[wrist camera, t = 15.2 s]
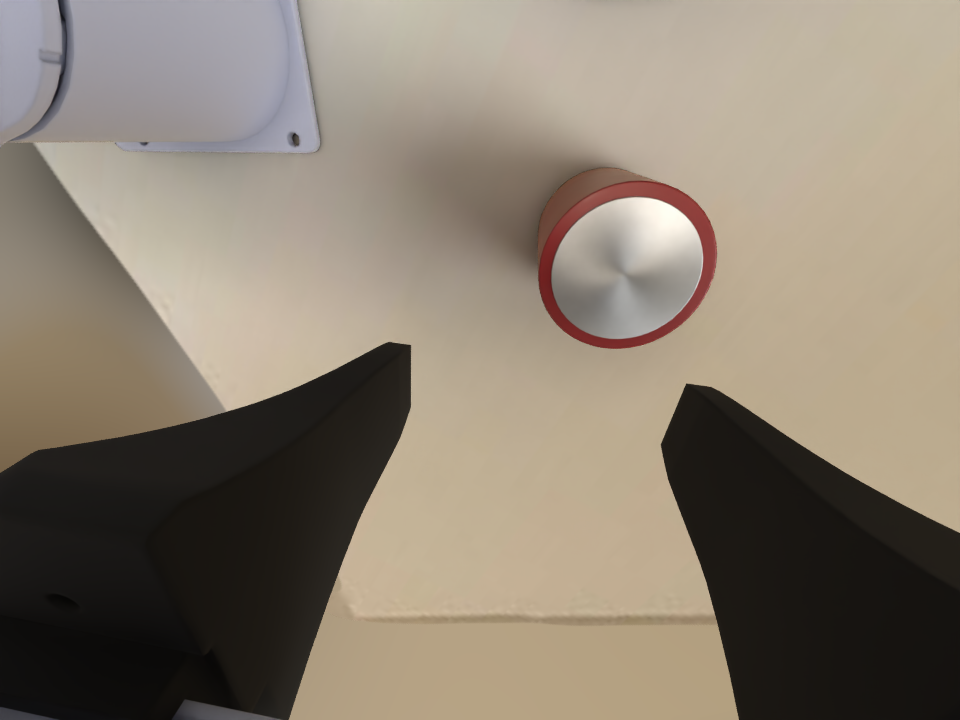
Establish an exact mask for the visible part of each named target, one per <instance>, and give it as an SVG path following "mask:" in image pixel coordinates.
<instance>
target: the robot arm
mask: <svg viewBox="0 0 960 720" xmlns="http://www.w3.org/2000/svg"><path fill="white" fill-rule="evenodd" d="M294 133H296V134H297V135H298V137H299V145H298V146H296V145H295V144H294V142H293V140H292V137H293V134H294ZM6 142H115V144H116V145H117V146H118V147H119V148H121V149H122V150H124V151H151V152H246V153H313V152H316V151H317V150H318V149H319V147H320V136H319V130H318V124H317V118H316V112H315V106H314V100H313V94H312V88H311V82H310V76H309V70H308V64H307V58H306V52H305V46H304V40H303V35H302V29H301V23H300V17H299V11H298V5H297V0H0V147H1V146H2V145H3V144H4V143H6ZM147 142H148V143H147ZM410 408H411V345H407V344H399V343H392V342H388V343H385V344H383V345H381V346H379V347H377V348H375V349H373V350H371V351H369V352H367V353H365V354H364V355H362V356H360V357H358V358H356V359H354V360H352V361H350V362H348V363H347V364H345V365H343V366H341V367H339V368H337V369H335V370H333V371H331V372H329V373H327V374H325V375H322V376H320V377H318V378H316V379H314V380H312V381H310V382H307V383H305V384H303V385H301V386H299V387H296V388H294V389H292V390H289V391H287V392H284V393H282V394H279V395H276V396H274V397H271V398H268V399H265V400H263V401H260V402H257V403H254V404H251V405H248V406H245V407H241V408H238V409H235V410H231V411H228V412H225V413H221V414H218V415H214V416H211V417H208V418H204V419H200V420H196V421H192V422H188V423H184V424H180V425H176V426H172V427H167V428H163V429H158V430H153V431H149V432H144V433H140V434H134V435H129V436H124V437H118V438H112V439H106V440H100V441H94V442H88V443H82V444H76V445H70V446H64V447H57V448H50V449H43V450H38V451H35V452H34V453H31V454H30V455H28V456H27V457H25V458H23V459H22V460H20V461H19V462H17V463H16V464H14V465H12V466H11V467H9V468H7V469H6V470H4V471H3V472H1V473H0V720H289V717H290V714H291V711H292V707H293V704H294V701H295V698H296V695H297V692H298V689H299V686H300V683H301V680H302V676H303V674H304V671H305V667H306V664H307V661H308V658H309V655H310V652H311V649H312V646H313V643H314V640H315V638H316V635H317V632H318V629H319V626H320V623H321V620H322V617H323V614H324V612H325V609H326V606H327V603H328V600H329V597H330V595H331V592H332V589H333V586H334V583H335V581H336V578H337V576H338V573H339V570H340V567H341V565H342V562H343V559H344V557H345V554H346V552H347V549H348V546H349V544H350V541H351V539H352V536H353V533H354V531H355V528H356V526H357V523H358V521H359V519H360V517H361V514H362V512H363V510H364V508H365V506H366V504H367V502H368V500H369V498H370V496H371V494H372V492H373V490H374V488H375V486H376V484H377V482H378V480H379V478H380V476H381V474H382V473H383V471H384V469H385V467H386V465H387V463H388V461H389V459H390V457H391V455H392V453H393V451H394V449H395V447H396V445H397V443H398V441H399V439H400V437H401V434H402V431H403V428H404V426H405V423H406V420H407V417H408V414H409V411H410ZM661 448H662V453H663V458H664V463H665V468H666V472H667V476H668V480H669V483H670V486H671V488H672V491H673V494H674V496H675V499H676V502H677V504H678V507H679V510H680V512H681V515H682V517H683V520H684V523H685V525H686V528H687V530H688V533H689V536H690V538H691V541H692V543H693V546H694V549H695V551H696V554H697V556H698V559H699V562H700V564H701V567H702V570H703V573H704V576H705V579H706V582H707V586H708V590H709V593H710V597H711V601H712V605H713V608H714V612H715V616H716V620H717V623H718V627H719V631H720V636H721V640H722V644H723V648H724V652H725V657H726V661H727V665H728V669H729V673H730V678H731V683H732V687H733V693H734V697H735V702H736V707H737V712H738V716H739V720H960V533H958V532H956V531H954V530H952V529H950V528H948V527H946V526H944V525H942V524H940V523H938V522H936V521H934V520H932V519H930V518H928V517H926V516H924V515H922V514H920V513H918V512H916V511H914V510H912V509H910V508H908V507H906V506H904V505H902V504H900V503H899V502H897V501H895V500H893V499H891V498H889V497H888V496H886V495H884V494H882V493H880V492H879V491H877V490H875V489H873V488H871V487H869V486H868V485H866V484H864V483H862V482H860V481H859V480H857V479H855V478H853V477H852V476H850V475H848V474H847V473H845V472H843V471H842V470H840V469H838V468H837V467H835V466H833V465H832V464H830V463H829V462H827V461H825V460H824V459H822V458H821V457H819V456H817V455H816V454H814V453H812V452H811V451H809V450H808V449H806V448H805V447H803V446H802V445H800V444H798V443H797V442H795V441H794V440H792V439H791V438H789V437H788V436H786V435H785V434H783V433H782V432H780V431H779V430H777V429H776V428H774V427H773V426H771V425H770V424H768V423H767V422H766V421H764V420H763V419H761V418H760V417H758V416H757V415H755V414H754V413H752V412H751V411H749V410H748V409H746V408H745V407H743V406H742V405H740V404H739V403H737V402H736V401H734V400H733V399H731V398H730V397H728V396H726V395H725V394H723V393H721V392H720V391H718V390H716V389H714V388H712V387H707V386H700V385H693V384H686V386H685V388H684V390H683V393H682V395H681V398H680V400H679V402H678V405H677V407H676V410H675V412H674V414H673V417H672V419H671V422H670V424H669V426H668V429H667V431H666V433H665V436H664V438H663V441H662V443H661Z"/></svg>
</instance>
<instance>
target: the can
mask: <svg viewBox="0 0 960 720" xmlns="http://www.w3.org/2000/svg"><path fill="white" fill-rule="evenodd" d="M716 260H717V246H716V239H715V234H714V231H713V228H712V226H711V223H710V221H709V219H708V217H707V216H706V214H705V212H704V211H703V210H702V208H701V207H700V206H699V205H698V204H697V203H696V202H695V201H694V200H693V199H692V198H691V197H689V196H688V195H687V194H685V193H683V192H682V191H680V190H678V189H676V188H674V187H671V186H669V185H667V184H664V183H661V182H658V181H655V180H652V179H649V178H646V177H643V176H640V175H637V174H634V173H631V172H628V171H625V170H621V169H617V168H597V169H592V170H589V171H586V172H583V173H580V174H578V175H576V176H574V177H573V178H571V179H570V180H568V181H567V182H565V183H564V184H563V185H562V186H561V187H560V188H559V189H558V190H557V191H556V192H555V193H554V194H553V196H552V197H551V198H550V200H549V201H548V203H547V205H546V206H545V208H544V211H543V213H542V216H541V219H540V223H539V229H538V281H539V289H540V294H541V297H542V301H543V303H544V305H545V308H546V310H547V311H548V313H549V315H550V316H551V318H552V319H553V320H554V322H555V323H556V324H557V325H558V326H559V327H560V328H561V329H562V330H563V331H564V332H566V333H567V334H569V335H570V336H571V337H573V338H575V339H577V340H579V341H581V342H584V343H586V344H589V345H592V346H596V347H601V348H610V349H621V348H631V347H635V346H640V345H644V344H647V343H650V342H652V341H655V340H657V339H659V338H661V337H663V336H665V335H667V334H668V333H670V332H672V331H673V330H674V329H676V328H677V327H679V326H680V325H681V324H682V323H683V322H684V321H686V320H687V319H688V318H689V317H690V316H691V315H692V313H693V312H694V311H695V310H696V309H697V308H698V306H699V305H700V303H701V302H702V300H703V299H704V297H705V295H706V293H707V291H708V290H709V287H710V285H711V282H712V279H713V276H714V272H715V268H716Z"/></svg>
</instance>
